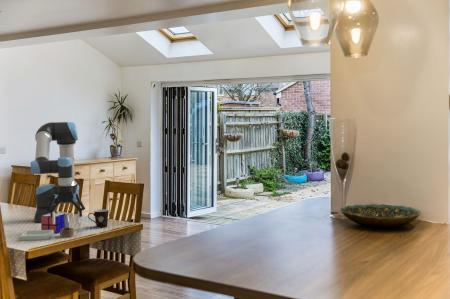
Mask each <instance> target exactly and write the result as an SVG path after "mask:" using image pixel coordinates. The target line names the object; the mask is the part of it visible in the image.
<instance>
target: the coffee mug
mask: <svg viewBox="0 0 450 299" xmlns="http://www.w3.org/2000/svg"><path fill="white" fill-rule="evenodd" d="M90 215H93V216H94V219H95V220H93V219H92V218H90ZM87 218H88V219H89V220H90V221H92V222H94V223H95V227H96V228H97V229H105V228H108V223H109V209H108V208H107V209H106V208H105V209H103V208H101V209H96V210H95V209H94V210H93V212H89V213H88V214H87Z"/></svg>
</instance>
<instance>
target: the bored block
mask: <svg viewBox="0 0 450 299" xmlns="http://www.w3.org/2000/svg"><path fill="white" fill-rule="evenodd" d="M59 234H60V235H59V237H60V238H62V239H63V238H72V237H74V227H69V230H65V228H62V229H61V230H60V233H59Z"/></svg>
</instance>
